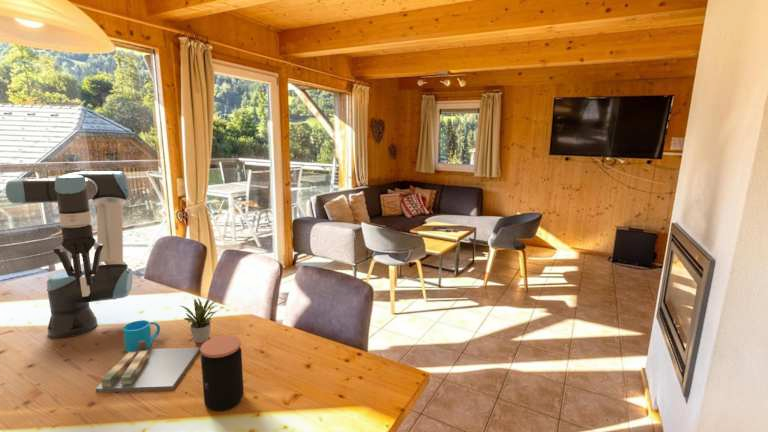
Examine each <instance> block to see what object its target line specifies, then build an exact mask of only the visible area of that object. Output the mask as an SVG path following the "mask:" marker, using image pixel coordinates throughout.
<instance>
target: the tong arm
mask: <svg viewBox="0 0 768 432" xmlns="http://www.w3.org/2000/svg"><path fill="white" fill-rule="evenodd" d="M148 357H149V356H148V350H146V351H139V353H138V354H137V356H136V357H135V358H134V360H133V361H132V363H131V364H130V366H129V367H128V368H127V370H126V371H125V373H124V374H123V375H122V377H121V381H122V385H126V384H131V383H132V382H133V380H134V379H135V377H136V376H137V374H138V373H139V371H140V370H141V368H142V366H143V365H144V363H145V362H146V360H147V359H148Z"/></svg>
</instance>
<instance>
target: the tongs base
mask: <svg viewBox="0 0 768 432" xmlns="http://www.w3.org/2000/svg"><path fill="white" fill-rule="evenodd" d="M147 349H148V348H147ZM147 349H146V341H145V340H141V341H138V352H128V351H127V352H128V353H126V354H125V355H124V356H123V357H122V358H121V359H120V360H119V361H118V362H117V363H116V364H115V365H114V366H113V367H112V368H111V369H110V370H109V371H107V373H106V374H105V375H104V376H103V377H102V378H101V380H100V381H101V383H102V387H106V386H112V385H113V384H114V383H115V382H116V381H117V379H118V378H119V377H120V376H121V375H122V374H123V373H124V372H125V371H126V370H127V368H128V367H129V366H130V364H131V363H132V361H133V360H134V358H135V357H136V356H137V354H138V353H139V351H146V350H147ZM149 353H150V350H148V354H149Z"/></svg>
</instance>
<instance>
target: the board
mask: <svg viewBox="0 0 768 432" xmlns="http://www.w3.org/2000/svg"><path fill="white" fill-rule="evenodd" d="M200 348H201V347H176V348H169V347H168V348H147V350H150V353H149V354H148V356H149V357H148V359H147V360H146V362H145V363H144V365H143V366H142V368H141V370H140V371H139V373H138V374H137V376H136V377H135V379H134V380H133V382H132V383H131V384H126V385H122V381H121V377H122V375H123V374H124V373H125V372H124V373H123V374H122V375H121V376H120V377H119V378H118V379H117V381H116V382H115V383H114V384H113V385H112V386H106V387H102V382H101V383H100V384H99V385H98V386H97V387H96V388H95V393H117V392H120V393H121V392H143V391H145V392H147V391H150V392H151V391H173V390H174V389H175V387H176V386H177V385H178V383H179V381H180V380H181V379H182V378H183V376H184V375H185V373H186V371H187V370H188V369H189V367H190V366H191V364H192V363H193V362H194V360H195V359H196V357H197V356H198V354H199V353H201V350H200ZM133 352H138V349H135V350H134V351H133Z"/></svg>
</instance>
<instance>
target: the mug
mask: <svg viewBox="0 0 768 432" xmlns="http://www.w3.org/2000/svg"><path fill="white" fill-rule="evenodd" d="M151 325H152V326H153V325H154V326H155V327H156V331H155V333H154V335H152V331H151ZM122 329H123V336H124V337H123V338H124V345H125V351H126V352H133V351H134V350H135V349H138V341H141V340H145V341H146V349H149V348H150V347H151V346H152V344H153V340H154V339H155V338H156V337H157V336H158V335H159V333H160V331H161V326H160V324H158V323H157V322H154V321H151V322H150V321H148V320H141V319H140V320H136V321H135V320H134V321H132V322H128V323H127V324H125V325H124V326H123V327H122Z"/></svg>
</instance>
